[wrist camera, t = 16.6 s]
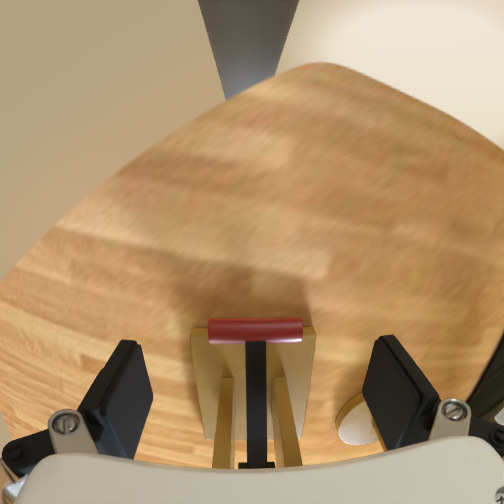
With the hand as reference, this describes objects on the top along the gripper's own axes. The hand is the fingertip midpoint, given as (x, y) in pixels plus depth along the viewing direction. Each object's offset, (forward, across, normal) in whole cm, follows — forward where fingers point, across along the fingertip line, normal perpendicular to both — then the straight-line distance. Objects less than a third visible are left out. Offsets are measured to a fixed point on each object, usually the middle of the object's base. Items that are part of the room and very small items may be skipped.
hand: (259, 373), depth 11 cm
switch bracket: (+10, 0, +10) cm, 14 cm away
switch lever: (+3, 0, +6) cm, 7 cm away
